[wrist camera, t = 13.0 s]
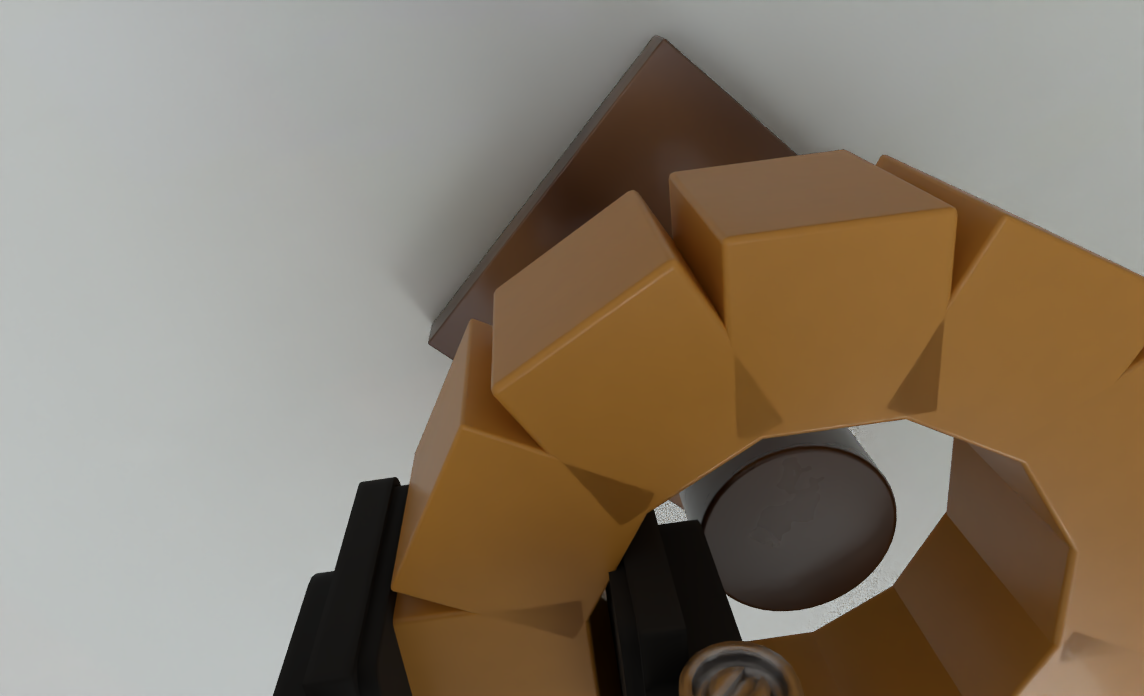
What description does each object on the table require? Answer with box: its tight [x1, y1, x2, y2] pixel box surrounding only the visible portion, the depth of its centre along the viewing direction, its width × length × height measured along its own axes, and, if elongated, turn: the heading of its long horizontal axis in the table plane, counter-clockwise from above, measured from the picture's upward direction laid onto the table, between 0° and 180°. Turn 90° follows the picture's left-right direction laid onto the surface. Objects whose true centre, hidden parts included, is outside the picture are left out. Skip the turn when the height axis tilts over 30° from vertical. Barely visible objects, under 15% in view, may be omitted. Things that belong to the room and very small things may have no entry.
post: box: [428, 35, 897, 611], centre depth 17 cm, size 9×9×10 cm
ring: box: [391, 149, 1144, 696], centre depth 12 cm, size 11×11×3 cm
